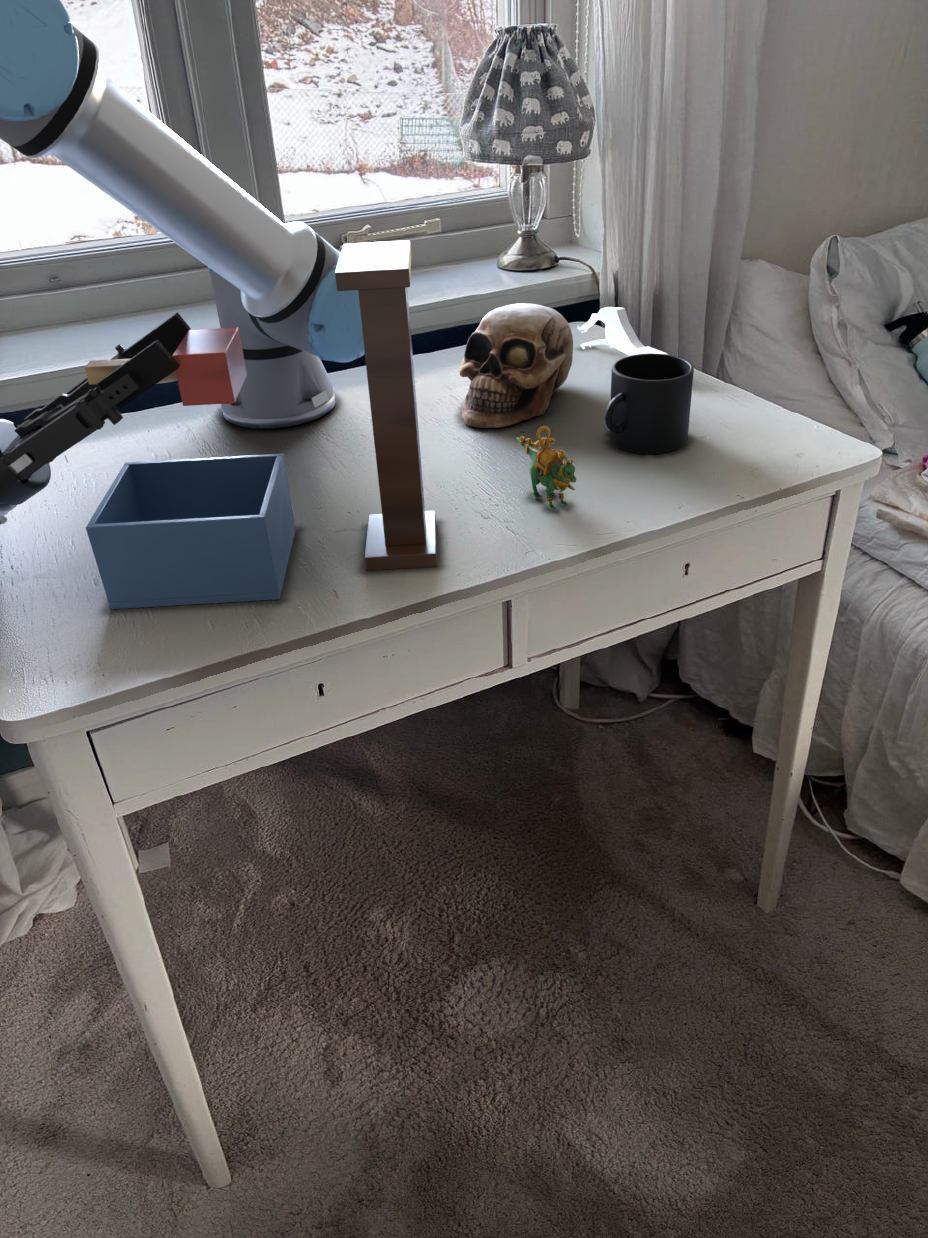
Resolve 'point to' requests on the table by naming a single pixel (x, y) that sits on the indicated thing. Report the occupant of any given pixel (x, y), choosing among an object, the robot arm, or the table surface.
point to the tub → (194, 531)
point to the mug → (650, 403)
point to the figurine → (548, 467)
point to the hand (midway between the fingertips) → (177, 339)
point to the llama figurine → (617, 332)
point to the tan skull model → (515, 364)
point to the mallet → (197, 367)
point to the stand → (391, 404)
